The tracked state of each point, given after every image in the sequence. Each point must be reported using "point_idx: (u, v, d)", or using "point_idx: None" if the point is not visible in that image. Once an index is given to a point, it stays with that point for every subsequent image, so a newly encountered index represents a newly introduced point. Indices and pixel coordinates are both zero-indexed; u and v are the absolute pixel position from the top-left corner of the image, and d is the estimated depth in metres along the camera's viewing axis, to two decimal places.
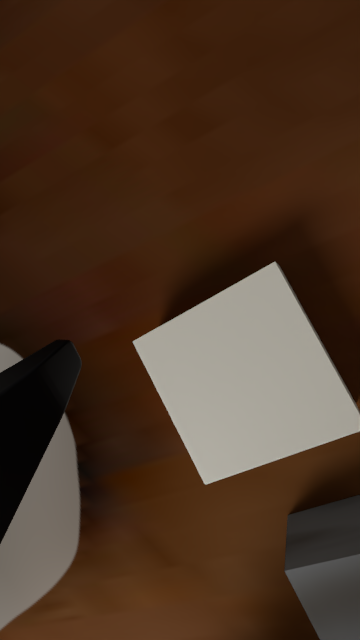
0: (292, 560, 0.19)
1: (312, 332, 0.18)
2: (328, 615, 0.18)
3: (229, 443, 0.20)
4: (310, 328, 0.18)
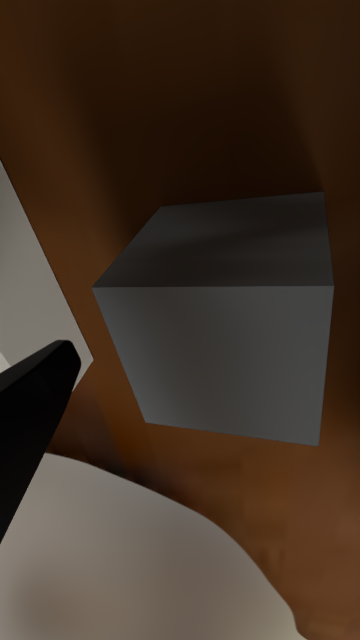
0: None
1: None
2: (232, 410, 0.09)
3: None
4: None
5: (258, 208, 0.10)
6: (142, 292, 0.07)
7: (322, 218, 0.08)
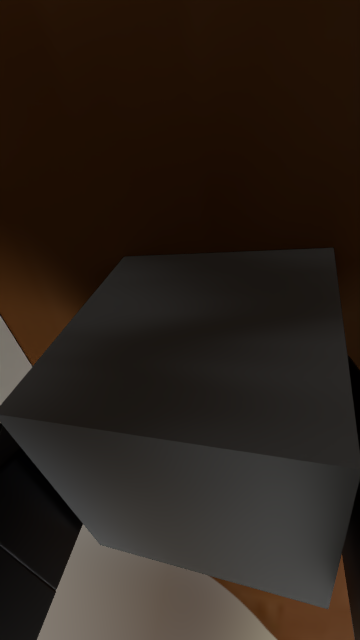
0: None
1: None
2: (209, 558, 0.07)
3: None
4: None
5: (245, 273, 0.07)
6: (64, 429, 0.05)
7: (334, 301, 0.06)
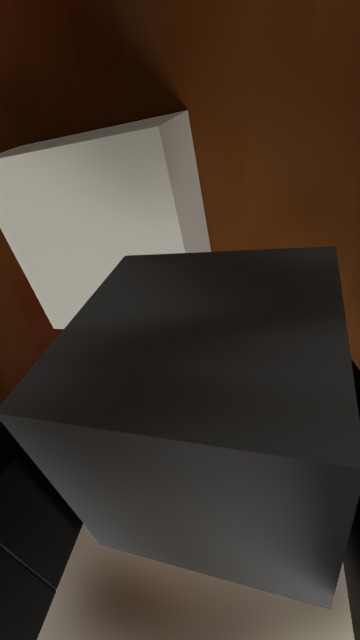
0: None
1: (39, 152, 0.15)
2: (211, 558, 0.06)
3: None
4: (34, 153, 0.15)
5: (247, 272, 0.07)
6: (66, 428, 0.05)
7: (336, 300, 0.06)
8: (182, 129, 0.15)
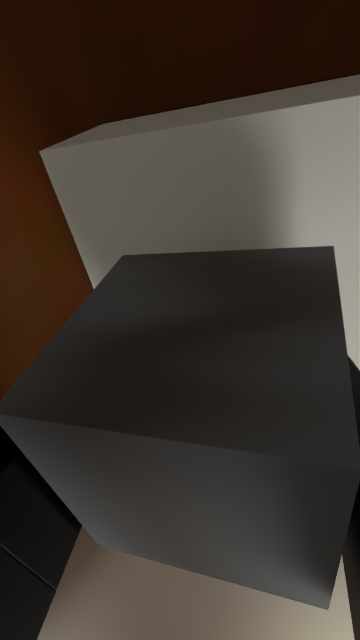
0: None
1: (187, 129, 0.08)
2: (208, 558, 0.06)
3: None
4: (178, 130, 0.08)
5: (244, 271, 0.07)
6: (61, 428, 0.05)
7: (334, 299, 0.06)
8: None
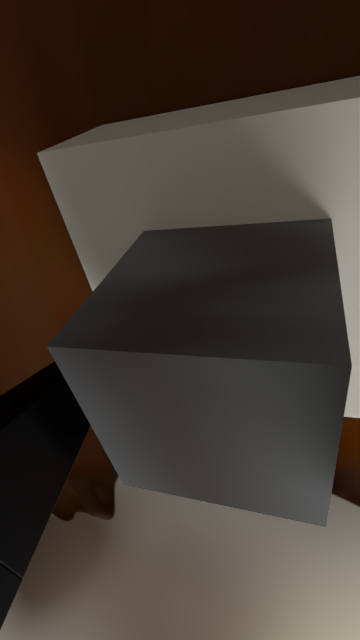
0: None
1: (187, 131, 0.08)
2: (224, 483, 0.08)
3: None
4: (177, 132, 0.08)
5: (254, 240, 0.08)
6: (109, 355, 0.06)
7: (331, 258, 0.07)
8: None
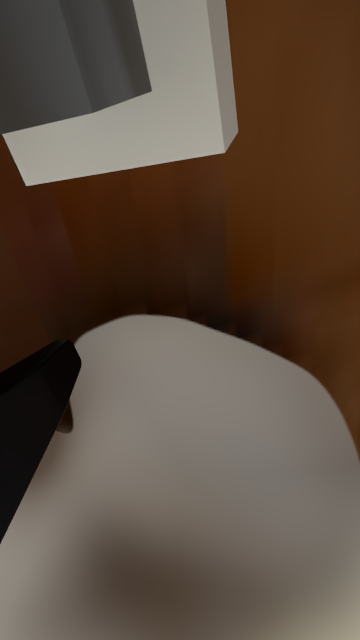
0: None
1: None
2: (10, 83, 0.09)
3: (166, 82, 0.13)
4: None
5: None
6: None
7: None
8: None
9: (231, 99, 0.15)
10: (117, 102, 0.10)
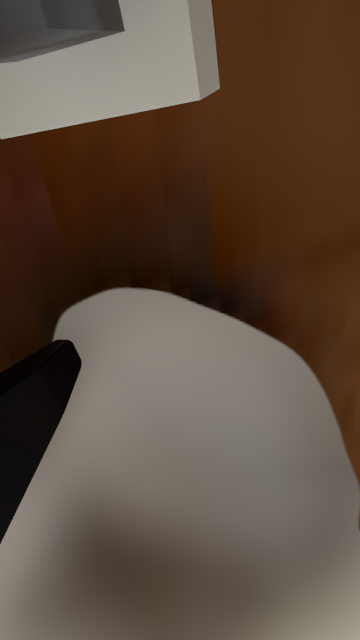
0: None
1: None
2: None
3: (139, 20, 0.12)
4: None
5: None
6: None
7: None
8: None
9: (211, 49, 0.14)
10: (80, 28, 0.10)
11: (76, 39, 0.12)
